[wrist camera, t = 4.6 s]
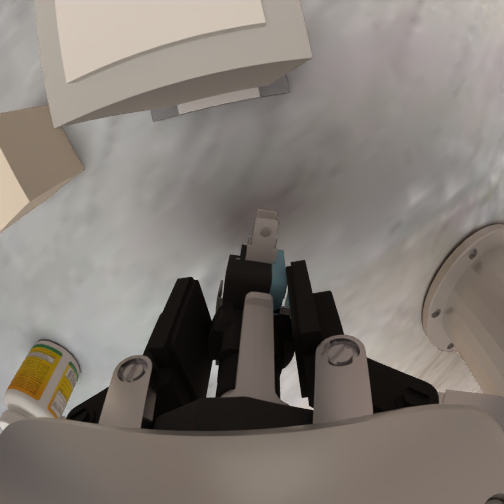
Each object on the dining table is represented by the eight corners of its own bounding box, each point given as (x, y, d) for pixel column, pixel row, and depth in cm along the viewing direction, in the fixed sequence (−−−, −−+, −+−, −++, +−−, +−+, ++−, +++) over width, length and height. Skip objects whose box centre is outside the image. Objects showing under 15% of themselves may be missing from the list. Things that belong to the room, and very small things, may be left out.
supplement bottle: (90, 369, 25) (58, 454, 16) (64, 382, 26) (33, 456, 17) (49, 330, 22) (2, 413, 14) (26, 347, 24) (-15, 419, 15)
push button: (201, 196, 12) (67, 431, 3) (335, 217, 12) (448, 458, 3) (192, 328, 15) (140, 527, 6) (299, 342, 15) (315, 543, 6)
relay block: (50, 104, 14) (-14, 116, 9) (85, 169, 16) (29, 201, 11) (13, 141, 15) (-47, 164, 10) (46, 200, 17) (-8, 239, 12)
